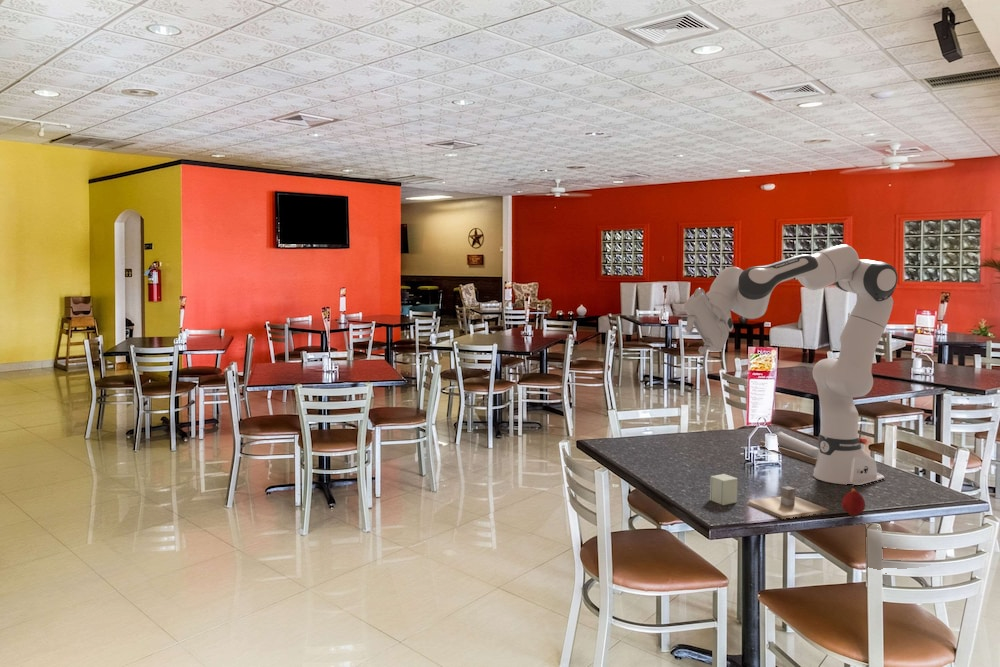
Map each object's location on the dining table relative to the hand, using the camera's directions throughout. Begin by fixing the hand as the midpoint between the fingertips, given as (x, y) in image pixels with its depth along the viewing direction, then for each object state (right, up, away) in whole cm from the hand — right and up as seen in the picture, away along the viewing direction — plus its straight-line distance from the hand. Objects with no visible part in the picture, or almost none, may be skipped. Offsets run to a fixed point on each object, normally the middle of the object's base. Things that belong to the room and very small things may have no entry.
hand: (694, 341), depth 223 cm
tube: (+52, -42, +53) cm, 85 cm away
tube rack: (+52, -42, +52) cm, 85 cm away
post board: (+24, -48, -10) cm, 54 cm away
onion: (+40, -49, -17) cm, 65 cm away
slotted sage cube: (+8, -47, -4) cm, 48 cm away
